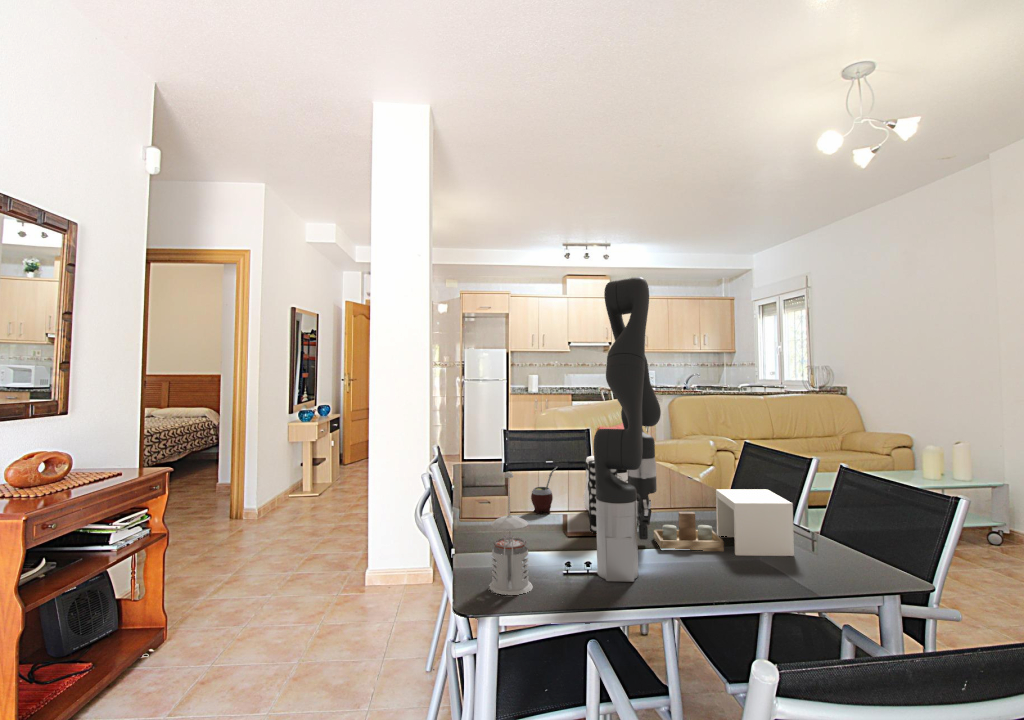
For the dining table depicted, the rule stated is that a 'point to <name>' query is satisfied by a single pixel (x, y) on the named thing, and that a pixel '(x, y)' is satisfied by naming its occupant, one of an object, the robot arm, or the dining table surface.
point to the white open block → (756, 521)
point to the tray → (690, 544)
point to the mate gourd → (542, 498)
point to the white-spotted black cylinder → (593, 495)
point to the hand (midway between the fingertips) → (643, 538)
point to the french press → (510, 556)
